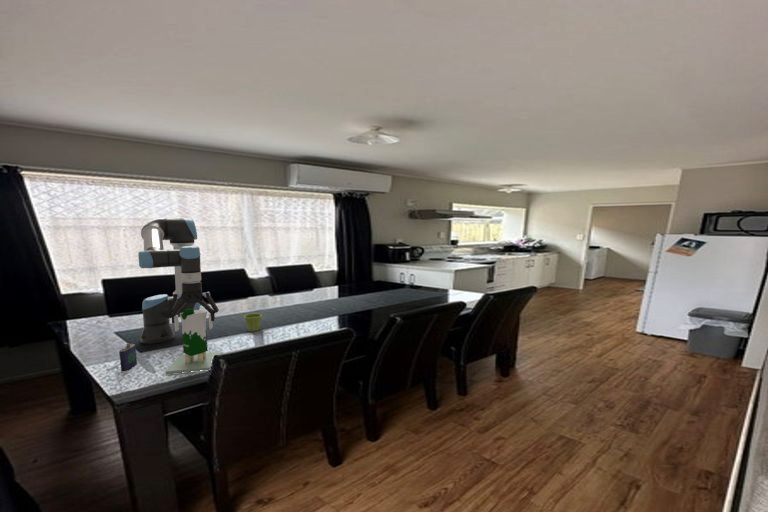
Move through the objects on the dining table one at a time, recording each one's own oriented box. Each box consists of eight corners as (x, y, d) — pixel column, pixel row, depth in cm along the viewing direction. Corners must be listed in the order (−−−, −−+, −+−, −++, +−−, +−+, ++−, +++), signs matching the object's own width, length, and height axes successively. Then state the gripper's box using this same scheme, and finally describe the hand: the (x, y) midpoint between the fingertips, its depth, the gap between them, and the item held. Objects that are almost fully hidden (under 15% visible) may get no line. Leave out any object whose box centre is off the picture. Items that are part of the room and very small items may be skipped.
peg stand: (165, 374, 141) (165, 362, 140) (180, 358, 158) (179, 346, 157) (213, 370, 145) (212, 358, 144) (222, 354, 162) (221, 343, 162)
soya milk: (180, 353, 149) (177, 308, 147) (200, 346, 157) (198, 304, 155) (190, 357, 145) (188, 311, 143) (211, 350, 152) (209, 307, 150)
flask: (132, 363, 152) (130, 340, 151) (139, 362, 152) (137, 339, 151) (119, 372, 143) (117, 347, 142) (126, 371, 143) (125, 347, 142)
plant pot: (256, 333, 193) (255, 318, 192) (241, 332, 195) (241, 317, 194) (265, 328, 202) (264, 314, 201) (251, 327, 204) (250, 313, 203)
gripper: (155, 284, 141) (158, 334, 143) (220, 282, 147) (223, 329, 149) (162, 281, 148) (165, 328, 151) (224, 279, 154) (226, 324, 157)
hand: (194, 329), depth 150 cm, fingers open, 13 cm apart
